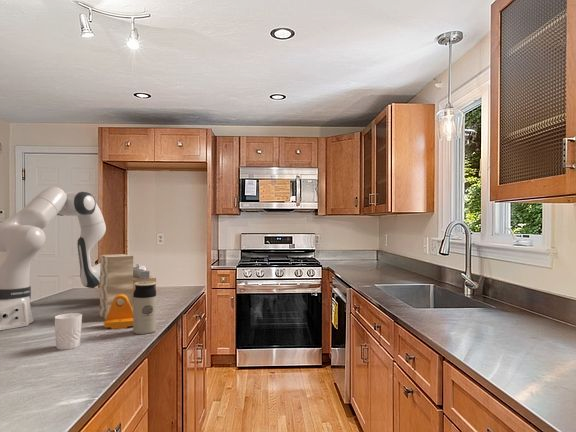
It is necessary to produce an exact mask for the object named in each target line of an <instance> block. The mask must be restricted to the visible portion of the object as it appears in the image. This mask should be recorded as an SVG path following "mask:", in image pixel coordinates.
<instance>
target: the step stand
mask: <svg viewBox="0 0 576 432" xmlns="http://www.w3.org/2000/svg"><path fill="white" fill-rule="evenodd" d="M99 263H100V285H99V316H100V317H101V318H103V319H104V320H105V319H106V317H107V315H108V312H109V310H110V307H111V305H112V303H113V300H114V298H115V297H116V296H117V295H119V294H124V295H126V296H127V297H128V300H129V302H130V305H131V307H132V310H133V296H134V291H135V289H136V288H135V285H134V284H135V283H137V282H155V283H156V284H155V287H154V288H155V290H156V291H157V277H155V276H151V275H149V278H147V279H139V278H135V277H133V266H134V255H131V254H125V253H122V254H100V261H99ZM117 303H118V304H120V305H122V304H124V300H122V299H118V300H117Z"/></svg>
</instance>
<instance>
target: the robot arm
mask: <svg viewBox="0 0 576 432" xmlns="http://www.w3.org/2000/svg"><path fill="white" fill-rule="evenodd" d="M56 216H61V217H62V216H63V217H64V216H72V217H76V216H77V219H78V222H79V226H80V235H79V238H78V239H77V253H78V260H79V261H78V262H79V267H80V270H79V271H80V274H79V275H80V282H81V283H82V285H83V286H84V287H85V288H88V289H95V288H96V287H98V286H100V262H99V263H97V264H95V265H93V266H92V262H91V251H92V248H93V247H94V246H95V245H96V244H97V243H98V242H99V241H100V240H101V239H102V238H103V237H104V236H105V234H106V232H107V231H106V230H107V226H106V221H105V220H104V219H105V218H104V216H103V213H102V211H101V209H100V207H99V205H98V203H97V201H96V199H95V197H94V196H93V194H91V193H89V192H88V191H68V192H65V190H63V188H60V187H58V186H50V187H47V188H46V189H44V190H42V191H41V192H40V193H38V194H37V195H36V196H35V197H34V198H33V199H31V200H30V202H28V203H27V204H26V205H25V206H24V207H22V209H21V210H19V211H18V212H16V213H15V214H12V215H11V216H10V217H8V218H6V219H5V220H3V221H1V222H0V253H6V255H5V258H4V261H3V262H2V263H1V264H0V331H4V330H11V329H16V328H17V329H18V328H21V327H27V326H29V325H30V324H32V323H33V322H34V321H35V320H34V316H33V314H32V308H31V298H32V297H31V296H32V294H31V293H32V290H31V289H32V287H31V285H30V283H31V282H30V279H31V268H32V264H33V261H34V258H35V257H36V254H37V253H38V252H39V251H40V250H42V249H43V248H44V246H45V244H46V240H47V239H46V233H45V231H44V230H43V229H44V228H46V227H47V226H48V225H49V223H50V222H52V221H53V220H54V218H56ZM133 267H135V268H139V269H143V270H146V271H147V269H146V268H147V267H146V266H145V265H141V263H136V264H135V265H133Z"/></svg>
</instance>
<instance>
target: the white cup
mask: <svg viewBox="0 0 576 432" xmlns="http://www.w3.org/2000/svg"><path fill="white" fill-rule="evenodd" d="M82 321H83V314H82V313H79V312H78V313H76V312H75V313H74V312H72V313H62V314H58V315H55V316H54V333H55V334H54V335H55V348H56V349H57V350H60V351H62V350H63V351H64V350H73V349H76V348H79V347H80V345H81V336H82V327H83V326H82V323H83V322H82Z"/></svg>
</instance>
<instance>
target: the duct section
mask: <svg viewBox="0 0 576 432" xmlns="http://www.w3.org/2000/svg"><path fill="white" fill-rule="evenodd" d="M149 276H150V271H149V270H147V269H146V270H143V269H139V268H135V267H133V277H135V278H139V279H147V278H149Z"/></svg>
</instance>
